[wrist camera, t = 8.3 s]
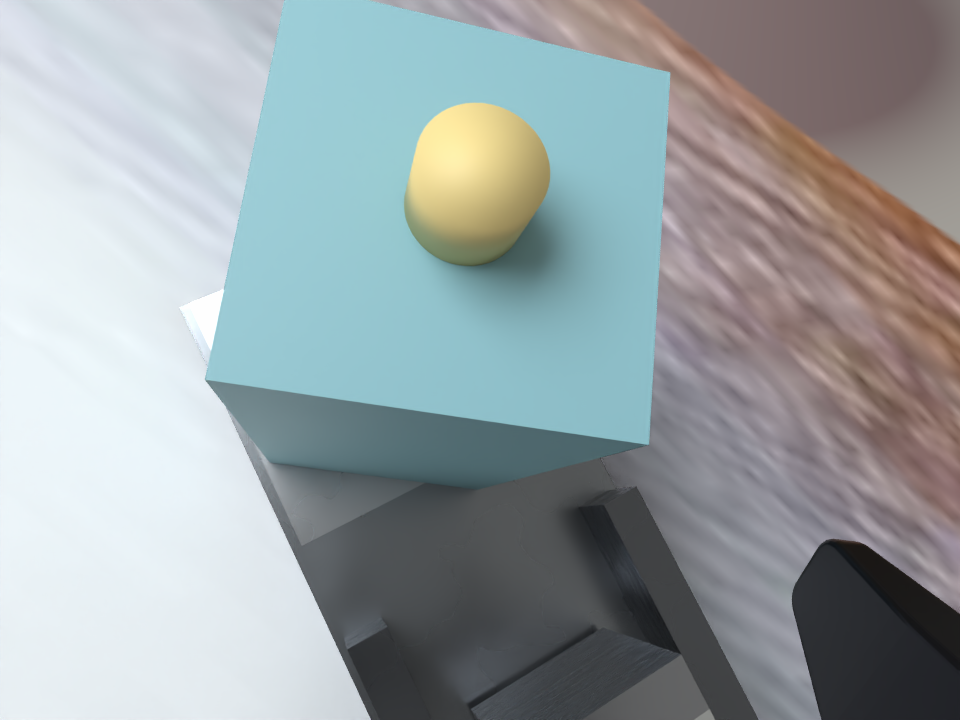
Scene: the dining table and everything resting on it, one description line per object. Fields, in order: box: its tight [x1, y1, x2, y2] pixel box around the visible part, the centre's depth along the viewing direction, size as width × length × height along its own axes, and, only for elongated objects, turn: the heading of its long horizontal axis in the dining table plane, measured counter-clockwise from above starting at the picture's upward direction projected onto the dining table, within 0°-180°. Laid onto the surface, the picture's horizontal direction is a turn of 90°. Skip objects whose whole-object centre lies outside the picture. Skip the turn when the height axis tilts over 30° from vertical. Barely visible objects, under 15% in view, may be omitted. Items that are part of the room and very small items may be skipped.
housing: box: [205, 0, 670, 490], centre depth 14 cm, size 6×6×12 cm
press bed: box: [180, 290, 758, 720], centre depth 19 cm, size 22×8×3 cm, turn 27°
